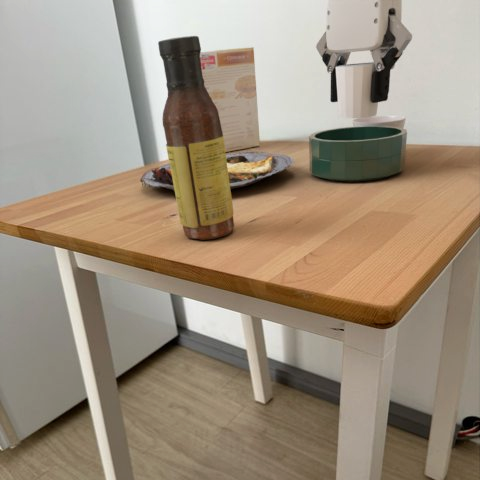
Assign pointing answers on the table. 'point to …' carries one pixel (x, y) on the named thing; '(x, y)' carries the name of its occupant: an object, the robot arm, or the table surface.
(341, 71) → the white faceted cup
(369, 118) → the pale round bowl
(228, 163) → the food plate
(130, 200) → the table surface
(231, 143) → the coffeecake box
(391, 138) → the green round tub
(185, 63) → the sauce bottle
